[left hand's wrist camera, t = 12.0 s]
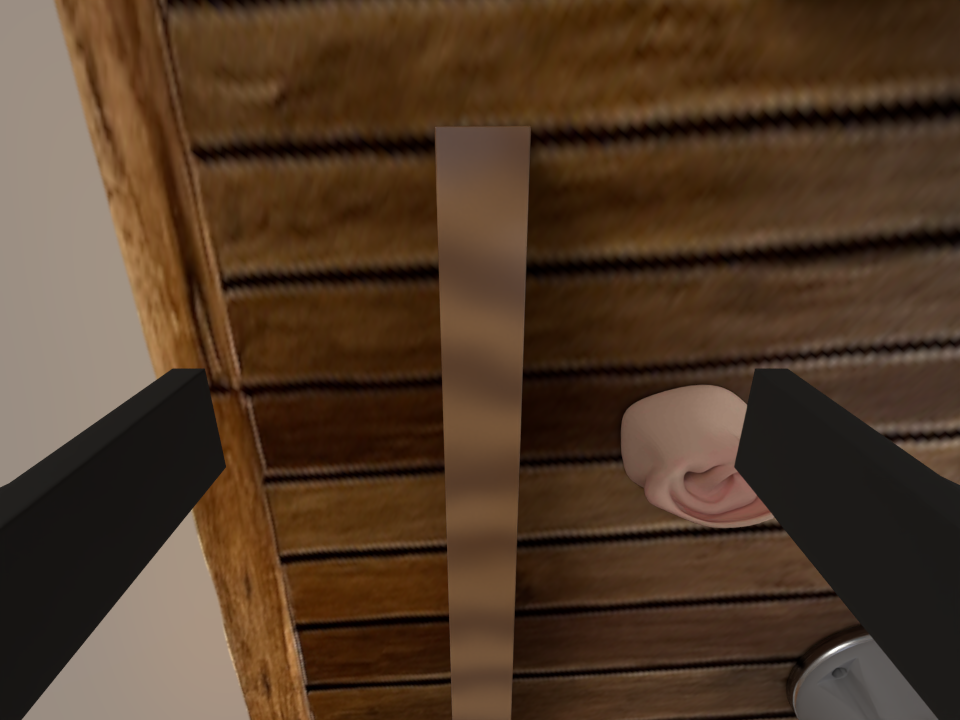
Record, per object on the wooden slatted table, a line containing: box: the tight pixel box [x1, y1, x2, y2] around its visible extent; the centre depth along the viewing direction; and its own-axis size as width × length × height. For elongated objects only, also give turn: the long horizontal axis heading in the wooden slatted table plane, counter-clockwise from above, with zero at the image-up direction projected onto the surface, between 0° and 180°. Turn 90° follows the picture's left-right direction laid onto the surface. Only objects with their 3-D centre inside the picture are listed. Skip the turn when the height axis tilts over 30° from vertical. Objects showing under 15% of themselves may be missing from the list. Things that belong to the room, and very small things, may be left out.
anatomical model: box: [621, 385, 774, 528], centre depth 40 cm, size 13×4×12 cm
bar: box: [435, 126, 531, 720], centre depth 43 cm, size 69×5×8 cm, turn 0°
